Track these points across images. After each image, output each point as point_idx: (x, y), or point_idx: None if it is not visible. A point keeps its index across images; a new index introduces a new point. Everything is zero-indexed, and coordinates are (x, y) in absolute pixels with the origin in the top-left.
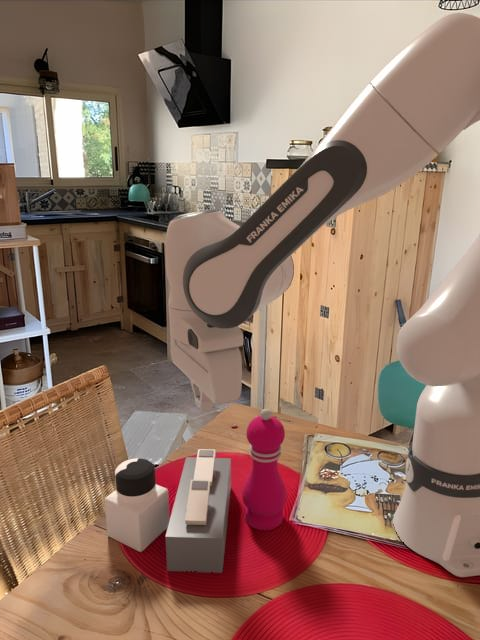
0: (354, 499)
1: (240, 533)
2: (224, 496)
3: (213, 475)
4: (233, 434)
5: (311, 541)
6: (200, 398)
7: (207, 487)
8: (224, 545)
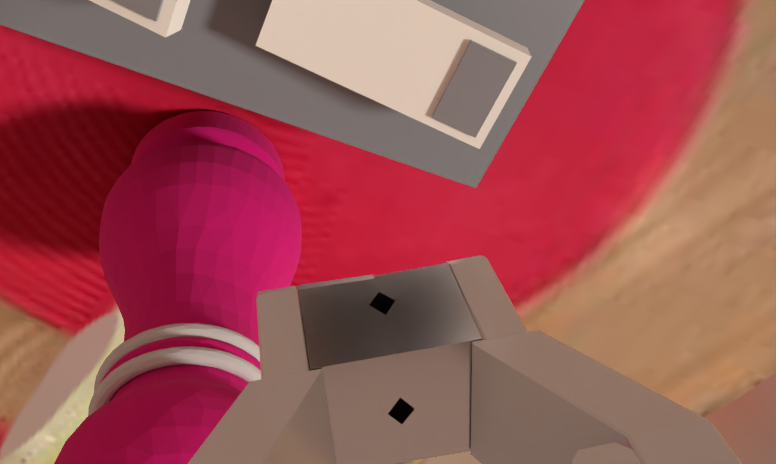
0: None
1: None
2: (175, 73)
3: None
4: (761, 226)
5: (44, 281)
6: (266, 415)
7: (115, 1)
8: None
